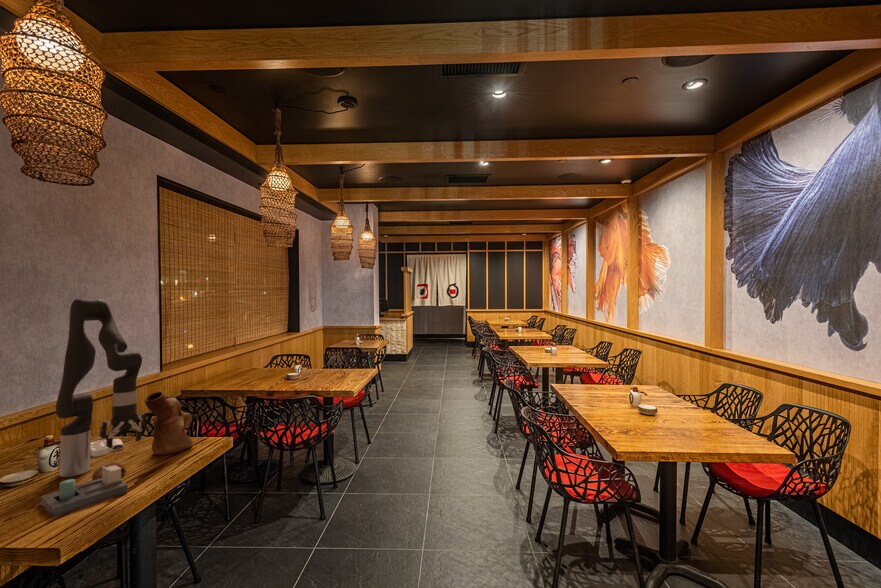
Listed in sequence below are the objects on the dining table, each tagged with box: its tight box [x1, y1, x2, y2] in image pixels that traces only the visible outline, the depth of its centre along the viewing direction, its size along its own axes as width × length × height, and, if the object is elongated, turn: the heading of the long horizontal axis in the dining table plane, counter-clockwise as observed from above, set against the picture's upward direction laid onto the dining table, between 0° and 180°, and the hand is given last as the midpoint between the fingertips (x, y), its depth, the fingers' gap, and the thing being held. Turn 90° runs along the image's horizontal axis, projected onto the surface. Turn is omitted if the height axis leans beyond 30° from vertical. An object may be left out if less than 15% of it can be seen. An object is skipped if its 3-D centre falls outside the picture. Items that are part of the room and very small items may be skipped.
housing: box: [40, 478, 129, 519], centre depth 139 cm, size 16×20×4 cm
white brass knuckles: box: [90, 438, 125, 458], centre depth 187 cm, size 3×18×15 cm
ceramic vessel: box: [143, 391, 194, 456], centre depth 183 cm, size 16×22×30 cm
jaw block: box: [102, 465, 122, 485], centre depth 145 cm, size 6×4×6 cm, turn 57°
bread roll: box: [91, 461, 127, 481], centre depth 156 cm, size 10×10×8 cm
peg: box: [59, 478, 76, 501], centre depth 135 cm, size 4×4×8 cm
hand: (124, 444), depth 149 cm, fingers open, 8 cm apart
